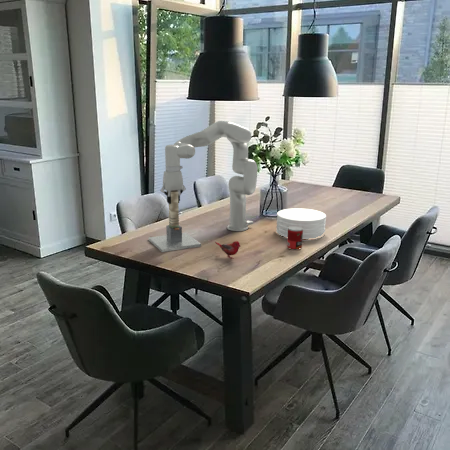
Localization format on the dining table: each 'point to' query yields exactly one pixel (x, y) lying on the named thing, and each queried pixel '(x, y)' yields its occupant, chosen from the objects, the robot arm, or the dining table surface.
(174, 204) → the ash post
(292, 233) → the canned food
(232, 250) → the decorative bird figurine
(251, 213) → the dining table surface
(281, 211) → the plate stack
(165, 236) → the metal stand
